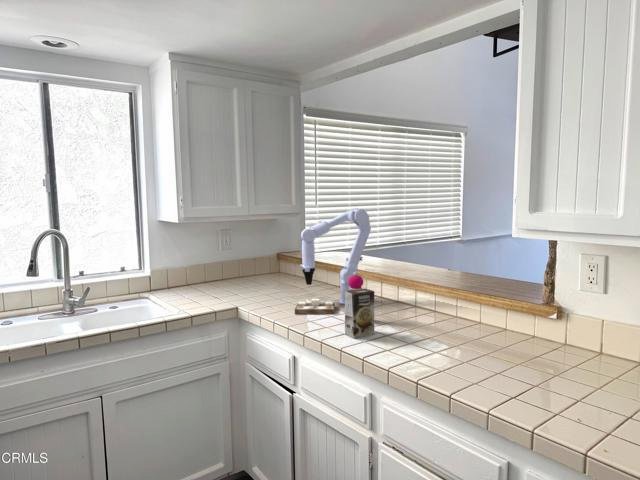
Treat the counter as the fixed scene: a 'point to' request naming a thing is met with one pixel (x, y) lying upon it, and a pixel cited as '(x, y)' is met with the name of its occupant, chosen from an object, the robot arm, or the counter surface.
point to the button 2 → (329, 304)
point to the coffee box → (359, 313)
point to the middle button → (315, 302)
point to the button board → (315, 309)
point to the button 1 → (301, 303)
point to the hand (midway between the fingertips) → (309, 284)
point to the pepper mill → (355, 282)
